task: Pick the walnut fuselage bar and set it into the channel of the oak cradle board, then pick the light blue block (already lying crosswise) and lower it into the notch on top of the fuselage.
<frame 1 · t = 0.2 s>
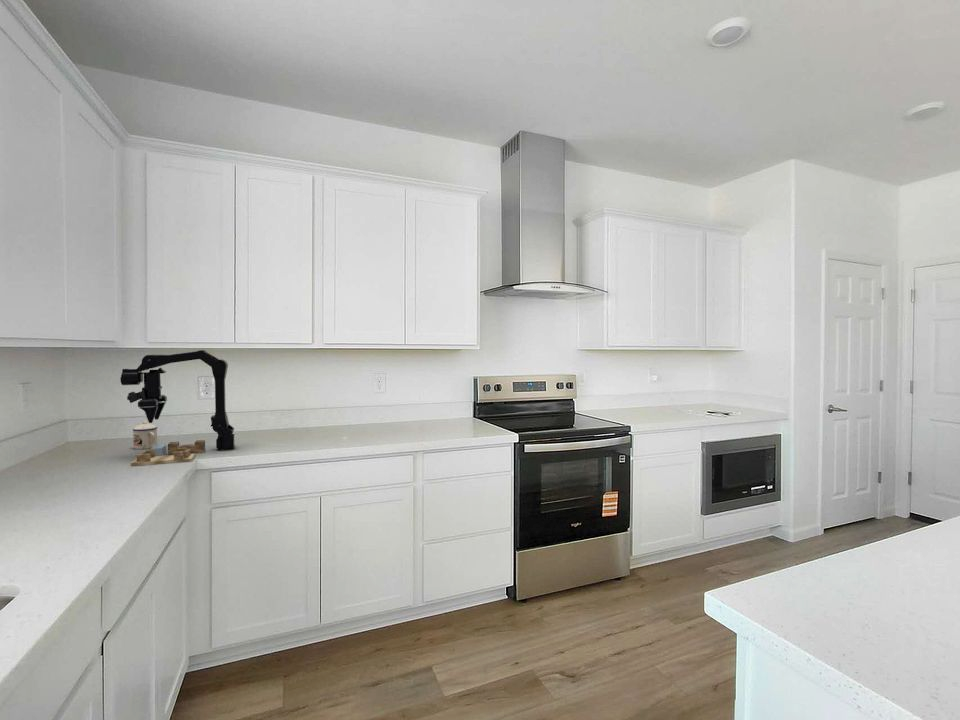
hand: (153, 421, 196), 14 cm above the counter, fingers open, 9 cm apart
jig: (164, 461, 185), on the counter
light blue block: (158, 456, 194), on the counter
teacup with lid: (147, 448, 208), on the counter
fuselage: (187, 453, 198), on the counter
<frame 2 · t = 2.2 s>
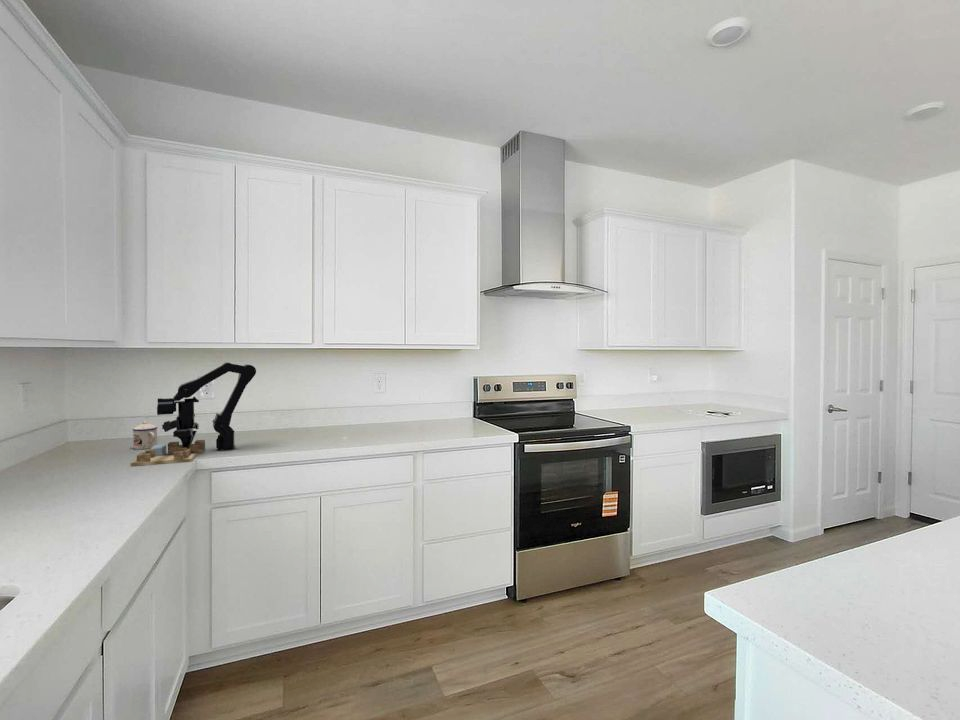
hand: (186, 449, 198), 2 cm above the counter, fingers closed on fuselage, 4 cm apart
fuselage: (186, 453, 198), on the counter, touching gripper
everything else where it was.
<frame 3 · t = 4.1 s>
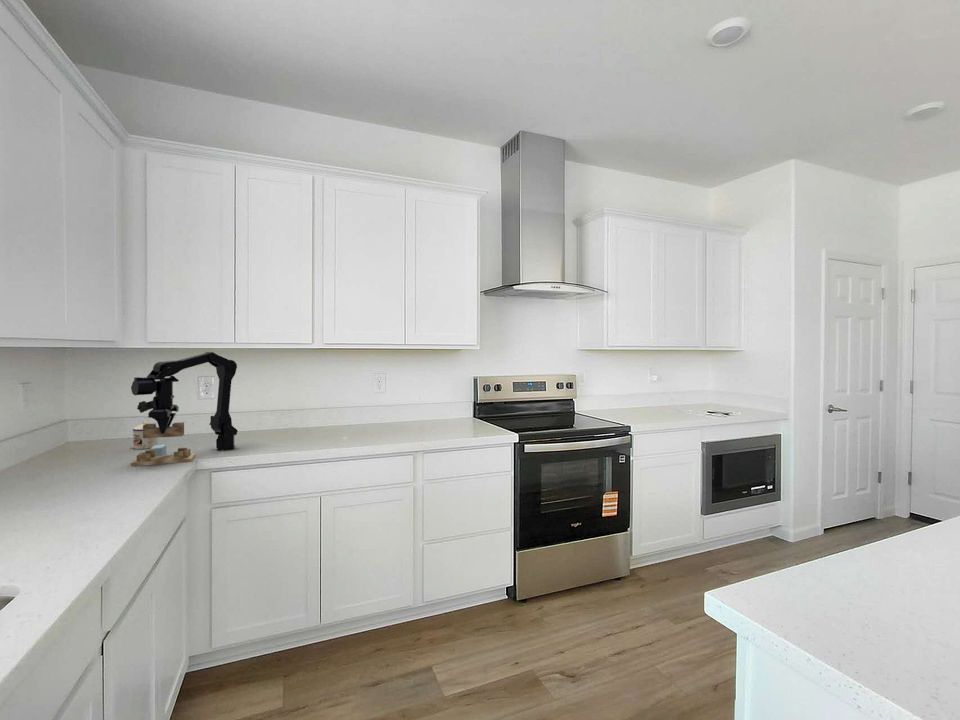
hand: (164, 432, 185), 11 cm above the counter, fingers closed on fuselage, 4 cm apart
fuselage: (164, 436, 185), point 10 cm above the counter, touching gripper
everything else where it was.
when the fingers open (4 cm above the counter, at t = 5.7 s): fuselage drops 1 cm, resting on jig.
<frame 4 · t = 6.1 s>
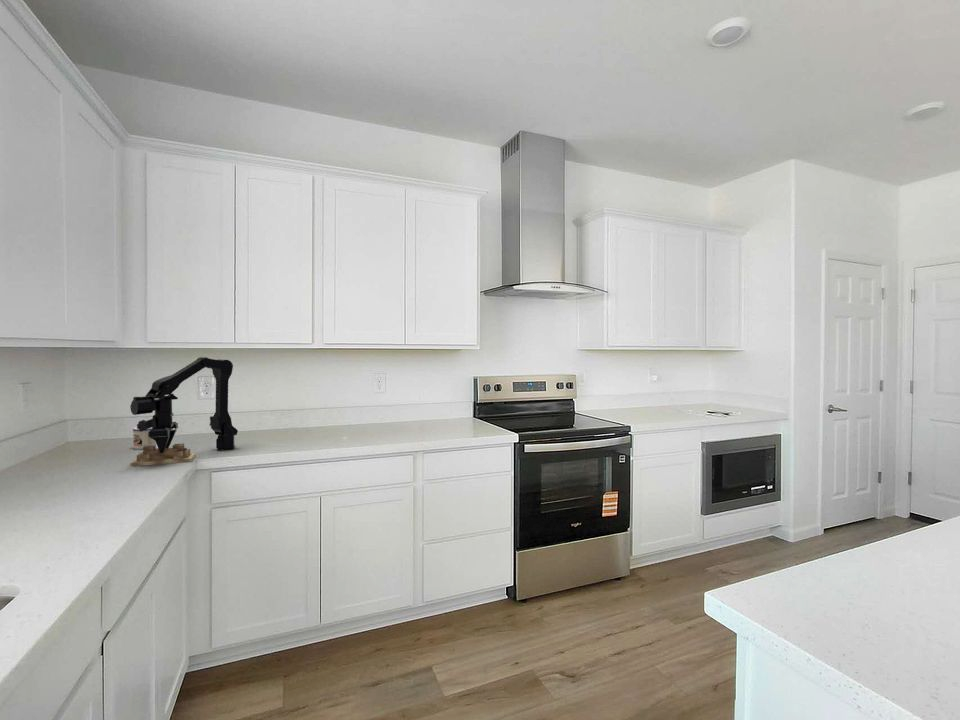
hand: (164, 450, 185), 4 cm above the counter, fingers open, 8 cm apart
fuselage: (164, 458, 185), point 1 cm above the counter, touching jig
everything else where it was.
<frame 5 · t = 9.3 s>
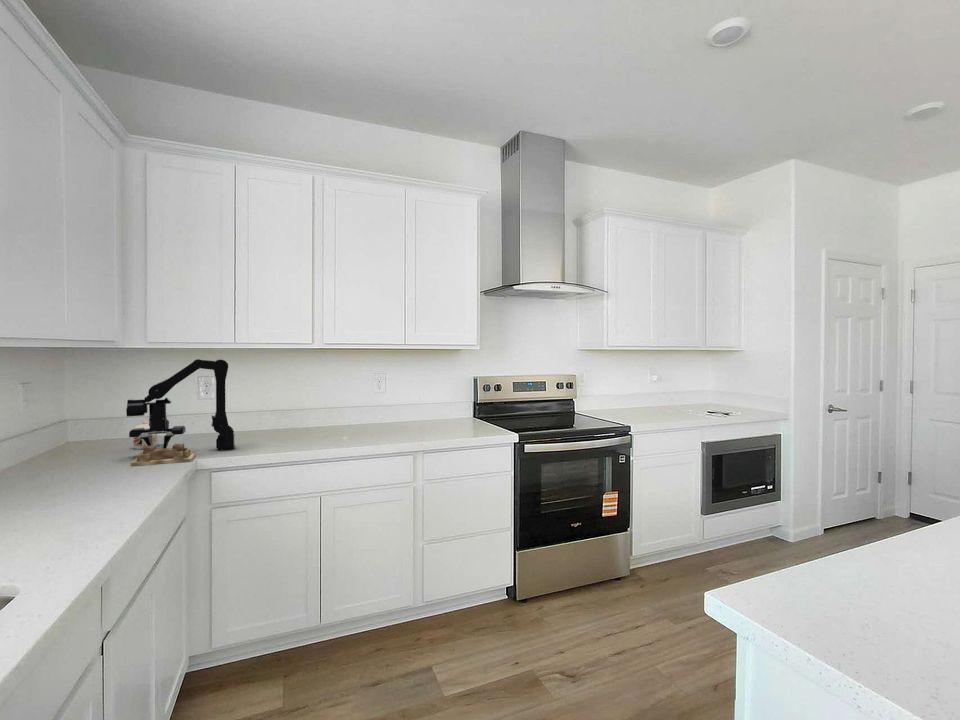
hand: (158, 451, 194), 2 cm above the counter, fingers closed on light blue block, 4 cm apart
light blue block: (158, 455, 194), on the counter, touching gripper
everything else where it was.
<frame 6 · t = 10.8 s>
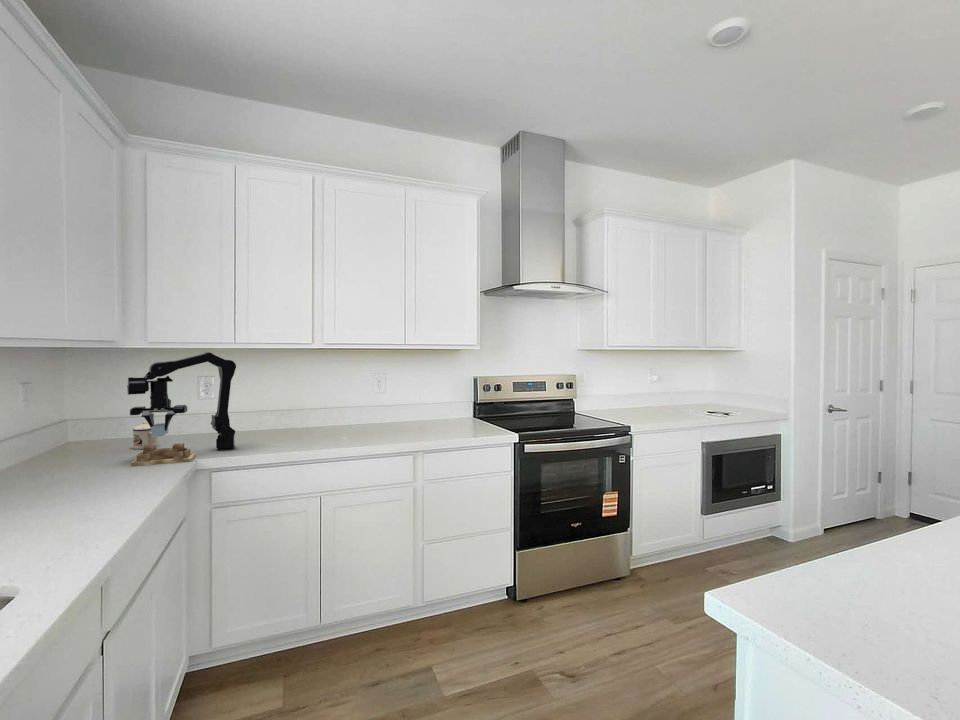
hand: (159, 430, 190), 11 cm above the counter, fingers closed on light blue block, 4 cm apart
light blue block: (160, 434, 191), point 9 cm above the counter, touching gripper
everything else where it was.
when the fingers open (8 cm above the counter, at t = 12.1 s): light blue block drops 2 cm, resting on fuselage.
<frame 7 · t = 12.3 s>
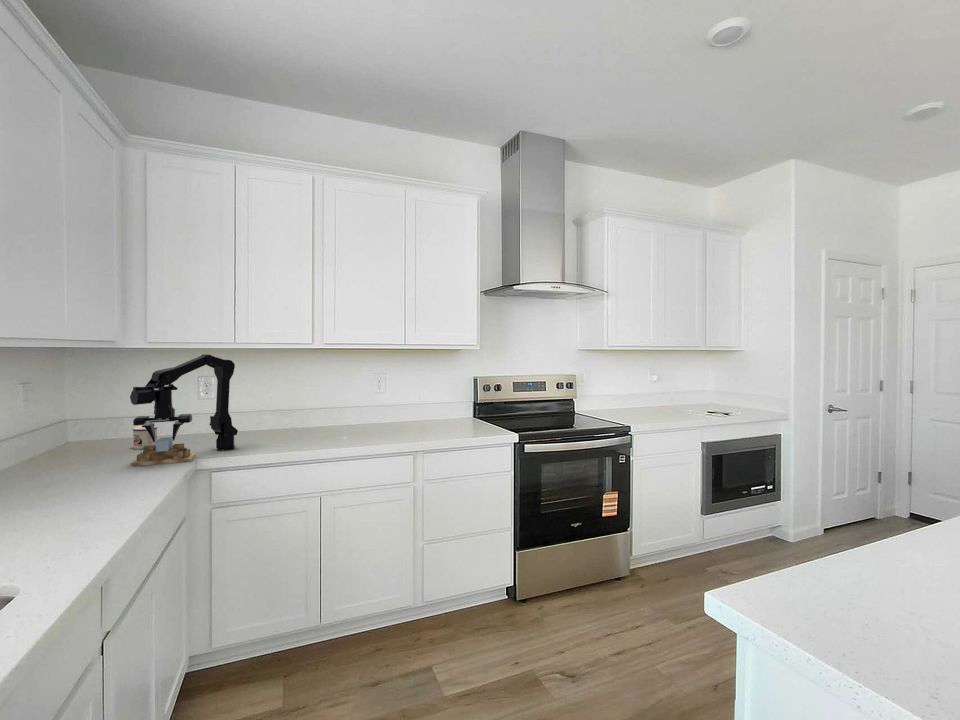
hand: (164, 441, 185), 8 cm above the counter, fingers open, 6 cm apart
light blue block: (164, 449, 185), point 5 cm above the counter, touching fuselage
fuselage: (164, 458, 185), point 1 cm above the counter, touching jig, light blue block
everything else where it was.
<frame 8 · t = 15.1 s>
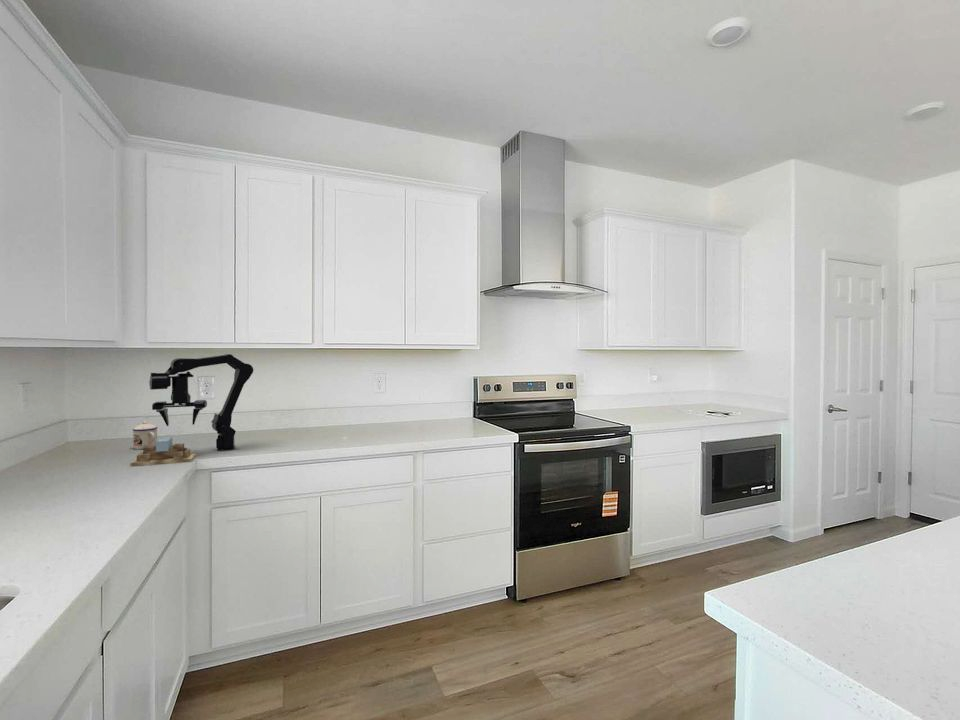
hand: (180, 425, 195), 12 cm above the counter, fingers open, 9 cm apart
nothing on the counter moved.
at the end: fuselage 0.1 cm off-centre on the jig, point 1.2 cm above the jig's base; light blue block 0.1 cm off-centre on the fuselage, point 3.5 cm above the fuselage's base; the gripper is holding nothing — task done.
